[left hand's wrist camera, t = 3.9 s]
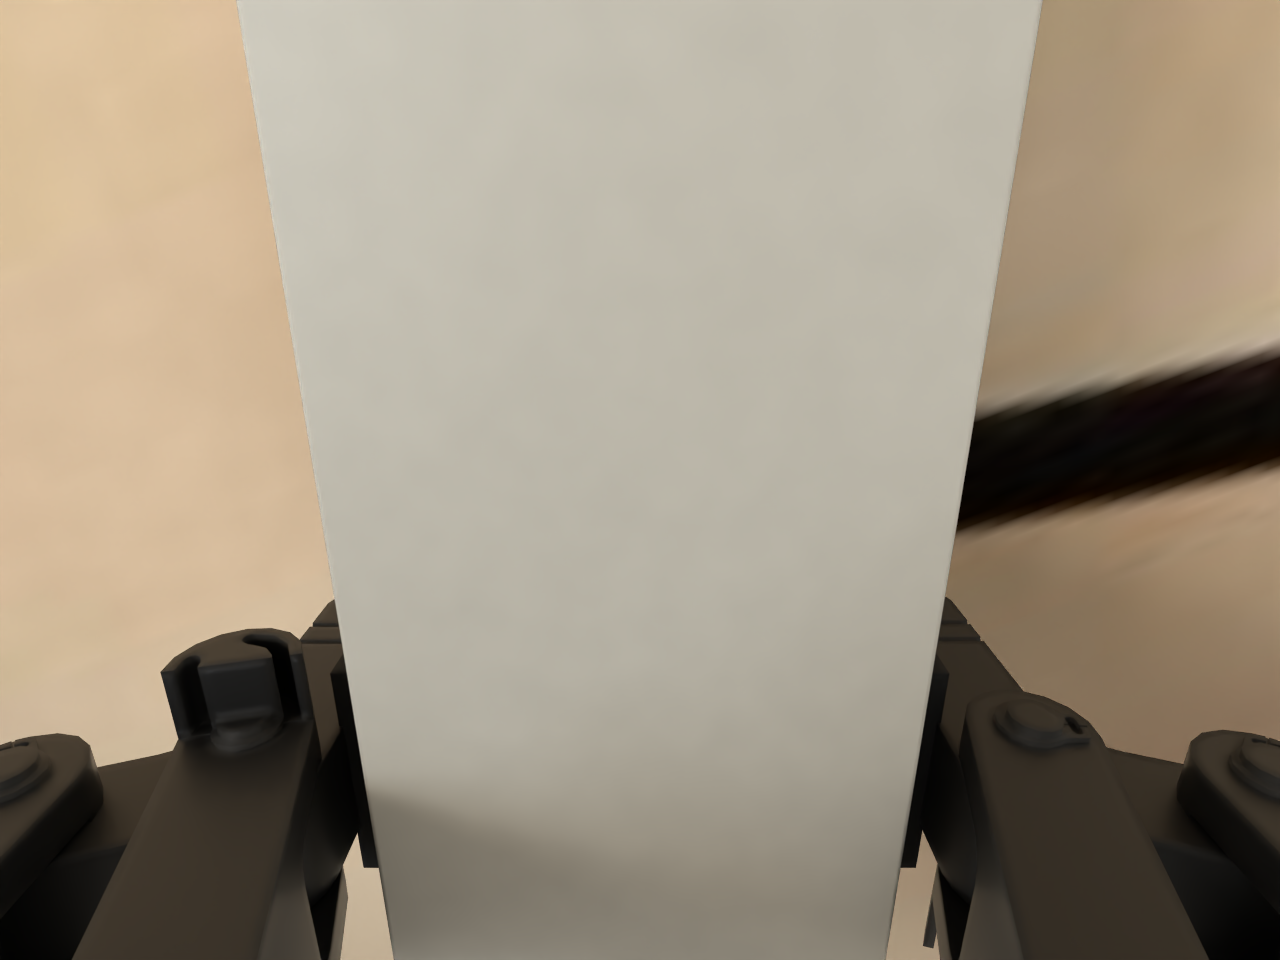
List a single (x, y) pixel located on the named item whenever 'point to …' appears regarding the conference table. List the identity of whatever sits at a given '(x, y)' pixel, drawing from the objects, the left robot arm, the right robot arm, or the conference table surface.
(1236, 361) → the conference table surface
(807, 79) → the beam
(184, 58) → the conference table surface
